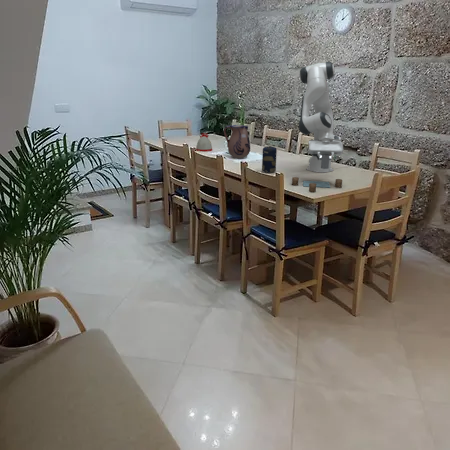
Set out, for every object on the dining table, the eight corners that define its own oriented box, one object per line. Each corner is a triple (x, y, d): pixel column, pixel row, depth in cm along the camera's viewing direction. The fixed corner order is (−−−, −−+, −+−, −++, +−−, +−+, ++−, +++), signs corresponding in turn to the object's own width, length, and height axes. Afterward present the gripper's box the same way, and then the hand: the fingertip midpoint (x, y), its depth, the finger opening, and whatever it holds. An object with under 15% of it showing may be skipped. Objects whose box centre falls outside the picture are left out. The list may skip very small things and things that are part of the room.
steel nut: (320, 166, 257) (321, 153, 254) (328, 167, 256) (329, 153, 254) (321, 168, 252) (322, 155, 250) (328, 169, 252) (329, 155, 249)
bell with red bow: (209, 152, 361) (209, 134, 356) (194, 151, 364) (193, 133, 359) (213, 149, 374) (213, 131, 369) (198, 148, 377) (198, 131, 372)
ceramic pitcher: (250, 160, 331) (251, 127, 322) (223, 159, 331) (223, 127, 323) (249, 155, 347) (250, 124, 339) (223, 155, 348) (224, 124, 339)
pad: (303, 181, 270) (303, 180, 270) (328, 182, 268) (328, 181, 268) (303, 186, 259) (303, 185, 259) (330, 187, 257) (330, 186, 257)
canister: (278, 172, 294) (279, 146, 288) (270, 174, 288) (271, 147, 281) (267, 169, 300) (268, 144, 294) (259, 172, 293) (259, 146, 287)
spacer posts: (291, 183, 265) (292, 176, 263) (341, 186, 260) (342, 179, 259) (291, 191, 249) (291, 183, 247) (344, 194, 245) (345, 186, 243)
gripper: (308, 136, 256) (308, 155, 251) (343, 137, 253) (343, 157, 248) (308, 142, 262) (307, 161, 256) (342, 143, 259) (342, 162, 254)
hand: (325, 159), depth 252 cm, fingers open, 4 cm apart
